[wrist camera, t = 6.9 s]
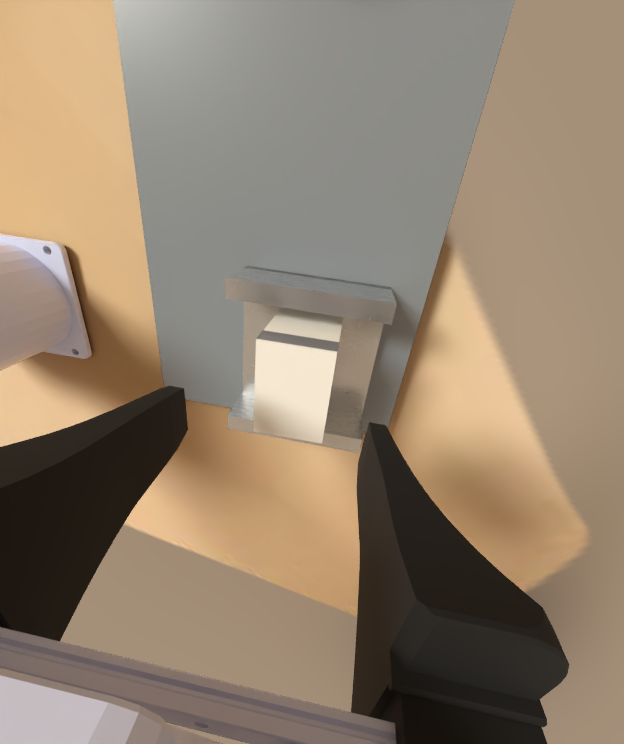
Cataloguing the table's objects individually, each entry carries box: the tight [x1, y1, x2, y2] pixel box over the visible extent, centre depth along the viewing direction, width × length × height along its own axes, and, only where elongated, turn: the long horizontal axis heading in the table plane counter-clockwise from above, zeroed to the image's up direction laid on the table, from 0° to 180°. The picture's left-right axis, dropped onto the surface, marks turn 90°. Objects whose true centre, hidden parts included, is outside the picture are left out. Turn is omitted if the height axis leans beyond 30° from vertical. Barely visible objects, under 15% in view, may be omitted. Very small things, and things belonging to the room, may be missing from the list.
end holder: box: [225, 266, 397, 453], centre depth 18 cm, size 8×9×3 cm
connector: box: [253, 307, 343, 444], centre depth 17 cm, size 4×5×5 cm
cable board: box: [113, 0, 515, 432], centre depth 18 cm, size 16×21×1 cm
